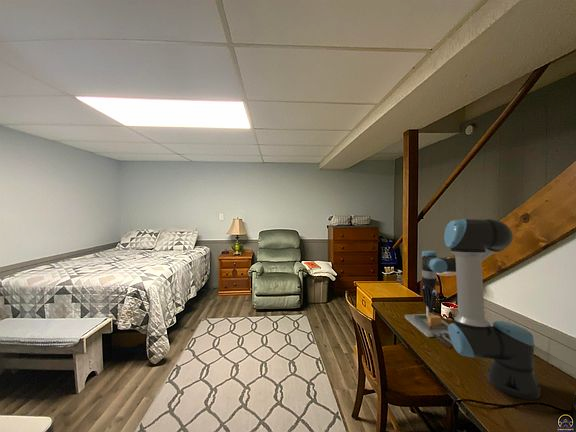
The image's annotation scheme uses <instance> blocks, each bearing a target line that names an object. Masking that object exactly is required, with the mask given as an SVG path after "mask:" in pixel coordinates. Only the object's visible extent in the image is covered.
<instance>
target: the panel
mask: <svg viewBox="0 0 576 432" xmlns="http://www.w3.org/2000/svg"><path fill="white" fill-rule="evenodd" d="M432 315H435V314H434V313H432ZM404 318H405V319H406V321H408V322H409V323H410V324H412V326H414V327H415V328H416V329H417V330H418V331H420V332H421V333H422V334H423V335H425V336H426V338H436V337H435V335H437V336H439V337H440V338H443V337H442V336H441V335H444V336H445V337H447V335H449V325H450V324H449V323H447V322H445V321H444V320H443V319H441V326H430V325H428V317H426V313H414V314H404Z"/></svg>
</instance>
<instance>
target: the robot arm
mask: <svg viewBox="0 0 576 432" xmlns="http://www.w3.org/2000/svg"><path fill="white" fill-rule="evenodd" d="M443 233H444V235H443V237H444V238H443V239H444V240H443V241H444V245H445V247H447V248H449V249H450V252H451V254H453V255H454V257H438V256H437V255H438V253H437V252H436V251H433V250H423V251H422V252H421V283H422V284H423V285H421V286H420V289H421V292H422V293H421V294H422V299H423V300H422V301H423V304H425V307H426V308H425V309H426V313H425V314H426V317H428V316H430V315H432V314H433V311H434V310H433V308H436V304H437V300H438V299H437V298H438V295H439V292H438V291H436V287H435V286H436V285H437V283H438V282H437V280H438V279H437V274H443V273H445V272H446V273H455V275H456V277H455V278H456V292H457V293H456V295H457V296H456V297H457V312H458V313H457V315H456V316H454V318H453V319H454V320H453V321H454V323H452V322H451V323H450V324H449V335H450V338H449V340H451V342H452V344H453V345H452V344H451V345H452V346H453V348H454V349H455V351H456V353H458V354H459V355H460V356H463V357H469V358H472V359H473V358H477V359H478V358H479V359H488V360H489V359H490V360H492V361H491V363H490V366H489V368H488V370H487V380H488V382H489V383H490V385H492V386H493V387H495V388H496V389H498V390H500V391H501V392H503V393H505V394H507V395H509V396H512V397H515V398H517V399H518V398H519V399H523V400H527V401H528V400H529V401H530V400H532V401H533V400H537V399H539V398H540V397H541V387H540V385H539V383H538V380H537V378H536V375H535V372H534V371H535V370H534V369H535V368H534V367H535V366H534V365H535V364H534V363H535V360H534V356H535V355H534V354H535V352H534V351H535V346H536V345H535V342H534V341H535V340H534V336H533V334H532V333H531V332H530V331H529V330H528V329H526V328H524V327H521V326H519V325H517V324H515V323H511V322H508V321H504V320H503V321H502V320H494V321H493V323H492V325H491V323H490V322H489V321H488V320H487V319H486V316H485V315H486V314H485V300H484V299H485V298H484V296H485V295H484V284H483V283H484V282H483V281H484V280H483V279H484V278H483V268H482V267H483V265H482V263H483V261H485V260H486V259H487V258H489V257H491V256H492V255H493V254H495V253H500V252H503V251H505V249H507V248H509V247H510V246H511V244H512V243H513V240H514V234H513V231H512V230H511V228H510V227H509V225H507V224H506V223H504V222H503V221H500V220H497V219H493V218H492V219H490V218H488V219H485V218H484V219H479V218H478V219H475V218H472V219H471V218H469V219H467V218H466V219H453V220H451V221H450V222H448V223H447V225H446V227H445V229H444V232H443Z"/></svg>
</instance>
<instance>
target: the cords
mask: <svg viewBox="0 0 576 432" xmlns="http://www.w3.org/2000/svg"><path fill="white" fill-rule="evenodd" d="M441 336H442V337H439V336H437V335H435V337H434V338H436V339H437V340H439V341H440V342H441V343H442V344H444V345H445V346H446V348H449V349H450V348H451V345H452V346H453V344H452V342H451V339H450V335H447V336H446V337H445V336H444V335H441ZM445 340H446V341H447V342H448V343H447V342H446V341H445Z"/></svg>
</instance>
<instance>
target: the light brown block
mask: <svg viewBox="0 0 576 432" xmlns="http://www.w3.org/2000/svg"><path fill="white" fill-rule="evenodd" d="M441 320H442V317H441V316H440V315H438V314H437V315H435V314H434V315H430V316H428V325H430V326H441Z"/></svg>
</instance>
